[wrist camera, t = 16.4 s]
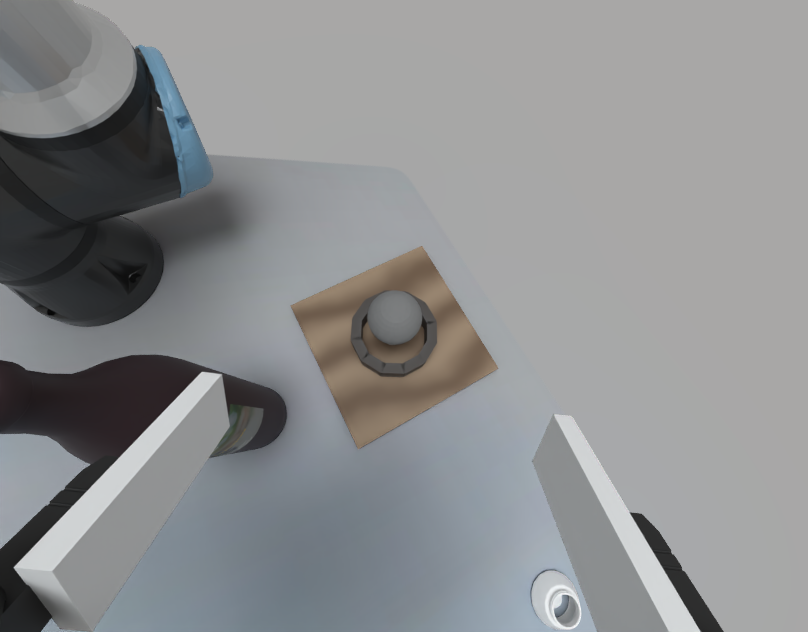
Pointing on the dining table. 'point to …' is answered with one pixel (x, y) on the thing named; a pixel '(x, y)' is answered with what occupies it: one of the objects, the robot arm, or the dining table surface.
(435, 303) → the lamp holder
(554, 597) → the lidless jar
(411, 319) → the light bulb
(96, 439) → the wine bottle
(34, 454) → the dining table surface
